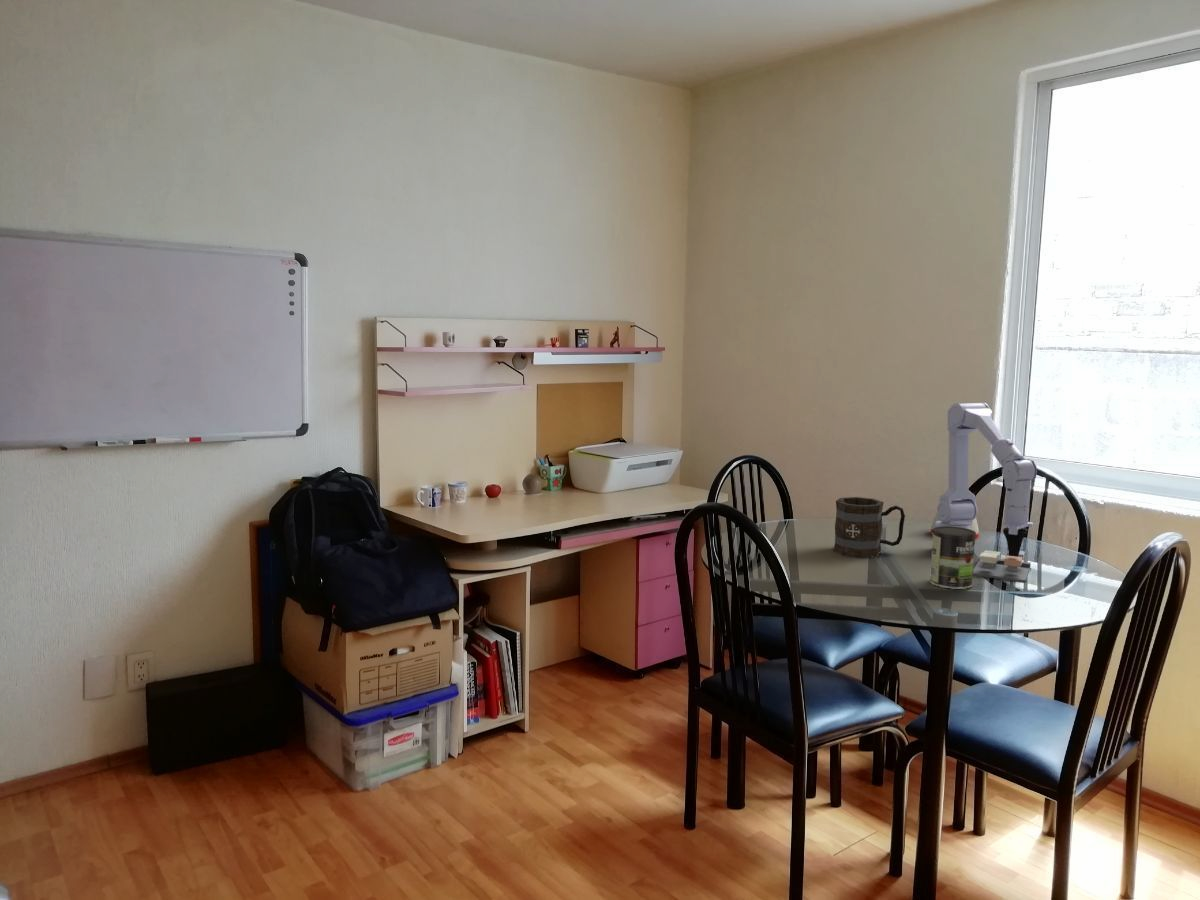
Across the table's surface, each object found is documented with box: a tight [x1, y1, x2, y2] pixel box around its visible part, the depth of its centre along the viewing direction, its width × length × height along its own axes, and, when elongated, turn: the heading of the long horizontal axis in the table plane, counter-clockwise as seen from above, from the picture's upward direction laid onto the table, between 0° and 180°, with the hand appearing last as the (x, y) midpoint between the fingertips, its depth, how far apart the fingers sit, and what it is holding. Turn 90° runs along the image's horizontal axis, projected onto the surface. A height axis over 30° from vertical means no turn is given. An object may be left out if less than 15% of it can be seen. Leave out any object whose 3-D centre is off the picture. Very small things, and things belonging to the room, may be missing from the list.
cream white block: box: [983, 550, 1001, 566], centre depth 248 cm, size 4×4×3 cm
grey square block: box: [1006, 550, 1026, 562], centre depth 244 cm, size 4×4×3 cm
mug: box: [833, 496, 906, 559], centre depth 262 cm, size 20×14×15 cm
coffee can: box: [929, 526, 976, 590], centre depth 231 cm, size 10×10×14 cm
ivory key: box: [978, 552, 998, 568], centre depth 241 cm, size 4×4×3 cm
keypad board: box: [973, 555, 1031, 583], centre depth 243 cm, size 13×15×2 cm
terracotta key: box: [1003, 554, 1023, 572], centre depth 238 cm, size 4×4×3 cm
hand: (1013, 555), depth 238 cm, fingers closed
